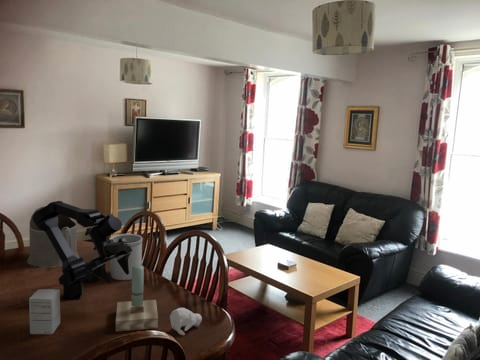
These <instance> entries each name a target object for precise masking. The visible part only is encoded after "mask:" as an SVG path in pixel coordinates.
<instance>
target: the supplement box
mask: <svg viewBox="0 0 480 360" xmlns="http://www.w3.org/2000/svg"><path fill="white" fill-rule="evenodd" d="M60 291H61V290H60V289H52V288H51V289H50V288H49V289H42V288H40V289H39V288H38V289H37V290H36V291H35V292H34V293H33V294H32V295H31V296H30V297H29V298H28V303H29V306H28V307H29V309H28V310H29V313H28V315H29V334H31V335H53V334H54V333H55V331H56V329H57V328H58V327H59V326H60V323H61V301H60V299H61V296H60V295H61V292H60Z"/></svg>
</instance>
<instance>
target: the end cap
mask: <svg viewBox="0 0 480 360" xmlns="http://www.w3.org/2000/svg"><path fill="white" fill-rule="evenodd" d="M88 262H89V261H88ZM88 262H86V263H88ZM90 271H92V270H90ZM90 271H88V272H87V274H86V277H85V279H84V280H86V281H88V282H89V283H94V282H97V281H100V280H101V278H100V277H99V276H97V275H96V274H94V273H93V272H92V273H90Z"/></svg>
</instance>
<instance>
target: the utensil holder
mask: <svg viewBox="0 0 480 360" xmlns="http://www.w3.org/2000/svg"><path fill="white" fill-rule="evenodd" d="M121 238H125V239H126V241H127V246H130V247H131V249H132V252H130V253H131V255H129V258H128V267H129V274H128V275H126V273H125V272H124V271H123V269H122V268H121V266H120V265H119V263H118V262H117V260H118V259H119V258H114V259H111V260H109V263H110V267H109V268H110V276H111V278H112V279H114V280H117V281H127V280H129V281H130V280H132V267H133V266H135V265H142V261H143V256H142V255H143V237H142V235H140V234H136V233H119V234H115V235H113V236H112V235H111V237H110V238H109V239H110V240H111V239H112V240H113V241H114V242H118V240H119V239H121ZM125 247H126V246H125ZM128 254H129V253H128ZM142 266H143V265H142Z"/></svg>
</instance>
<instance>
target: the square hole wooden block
mask: <svg viewBox="0 0 480 360" xmlns="http://www.w3.org/2000/svg"><path fill="white" fill-rule="evenodd" d="M131 304H132V300H129V301H118V302H117V306H116V314H115V315H116V317H115V332H124V331H125V332H127V331H137V330H149V329H150V330H151V329H158V327H159V323H158V322H159V317H158V308H157V299H149V300H148V299H145V300H144V299H143V305H142V306H139V307H134V306H132V305H131Z"/></svg>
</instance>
